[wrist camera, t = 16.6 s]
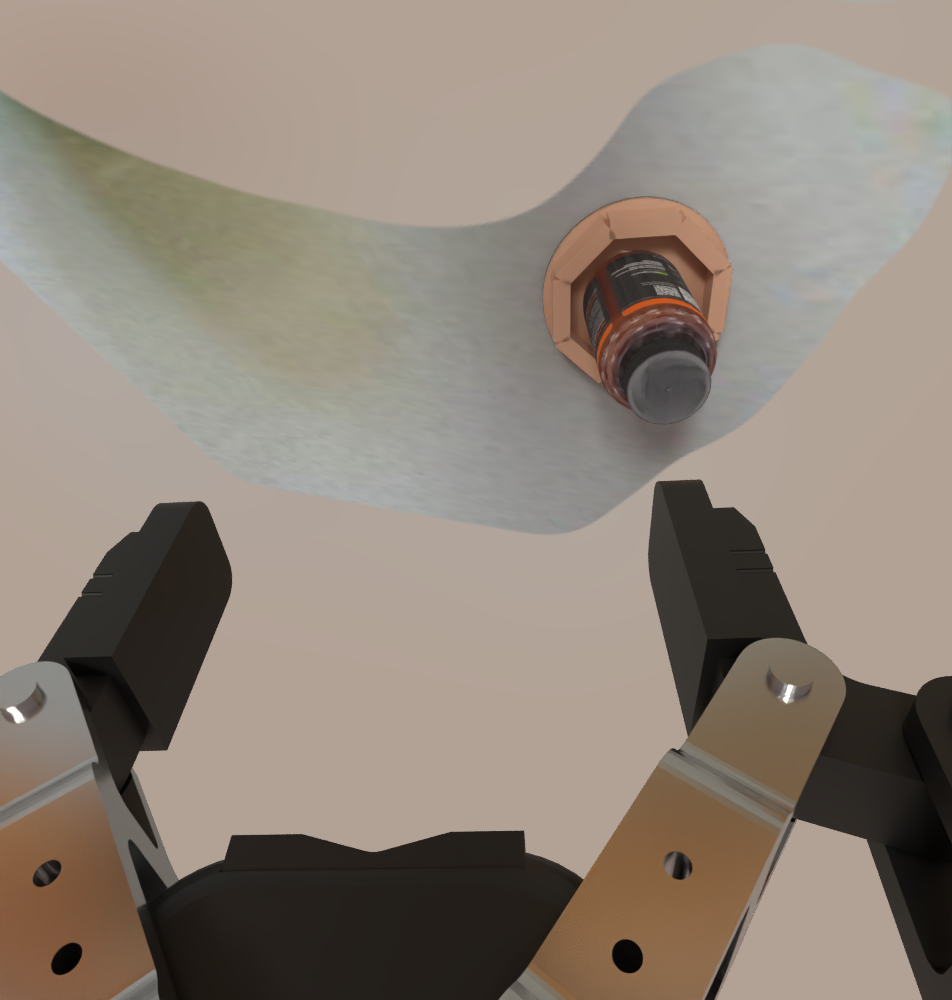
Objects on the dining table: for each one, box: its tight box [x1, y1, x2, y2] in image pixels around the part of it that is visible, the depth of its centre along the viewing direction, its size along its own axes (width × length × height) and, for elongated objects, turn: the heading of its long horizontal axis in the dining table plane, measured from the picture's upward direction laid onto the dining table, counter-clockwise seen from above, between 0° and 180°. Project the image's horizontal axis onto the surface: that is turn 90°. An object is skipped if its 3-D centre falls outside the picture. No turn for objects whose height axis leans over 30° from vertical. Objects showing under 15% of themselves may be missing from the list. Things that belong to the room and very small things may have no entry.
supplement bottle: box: [583, 250, 717, 424], centre depth 38 cm, size 6×6×11 cm
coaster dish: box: [543, 197, 733, 384], centre depth 42 cm, size 11×11×2 cm
